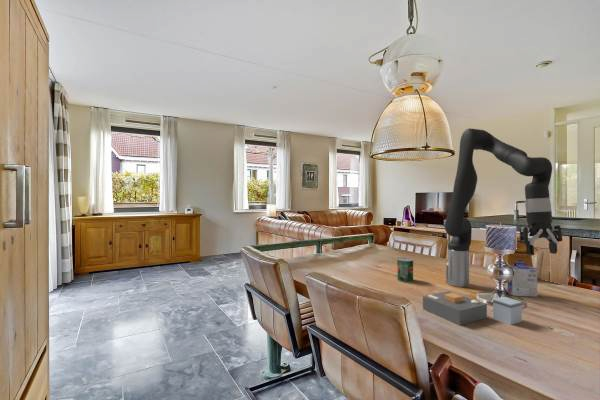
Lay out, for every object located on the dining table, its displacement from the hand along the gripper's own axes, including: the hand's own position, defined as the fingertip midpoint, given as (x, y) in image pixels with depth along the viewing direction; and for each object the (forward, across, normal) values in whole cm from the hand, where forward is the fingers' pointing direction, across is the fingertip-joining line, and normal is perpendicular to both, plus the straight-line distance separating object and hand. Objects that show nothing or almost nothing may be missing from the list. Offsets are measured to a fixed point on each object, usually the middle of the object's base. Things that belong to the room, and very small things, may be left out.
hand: (542, 254), depth 110 cm
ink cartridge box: (+21, -8, -22) cm, 31 cm away
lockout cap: (+22, +18, +4) cm, 28 cm away
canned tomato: (+18, +34, -47) cm, 61 cm away
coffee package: (+21, -26, -47) cm, 57 cm away
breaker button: (+19, +33, -3) cm, 38 cm away
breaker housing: (+20, +33, -3) cm, 39 cm away
